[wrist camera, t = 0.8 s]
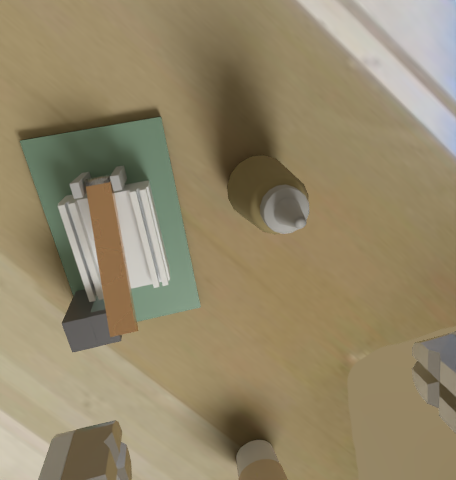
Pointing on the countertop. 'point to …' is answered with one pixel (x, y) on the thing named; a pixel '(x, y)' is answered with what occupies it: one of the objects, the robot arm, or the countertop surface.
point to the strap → (111, 256)
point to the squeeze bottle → (268, 195)
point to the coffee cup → (258, 462)
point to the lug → (87, 323)
